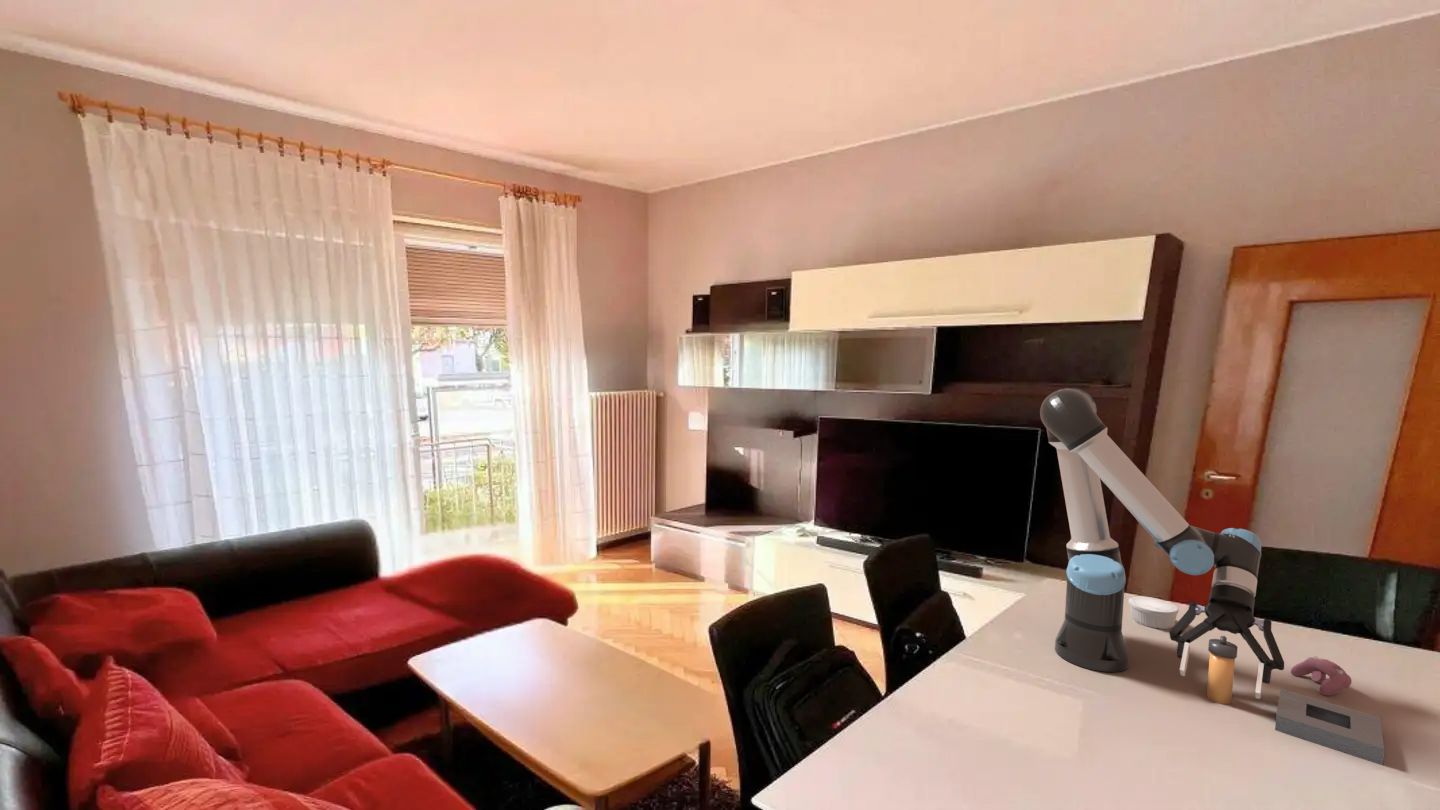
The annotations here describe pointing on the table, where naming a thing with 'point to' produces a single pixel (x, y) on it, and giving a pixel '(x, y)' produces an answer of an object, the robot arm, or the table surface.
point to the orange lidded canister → (1221, 670)
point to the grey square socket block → (1330, 725)
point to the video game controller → (1324, 674)
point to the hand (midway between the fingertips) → (1218, 684)
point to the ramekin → (1153, 612)
